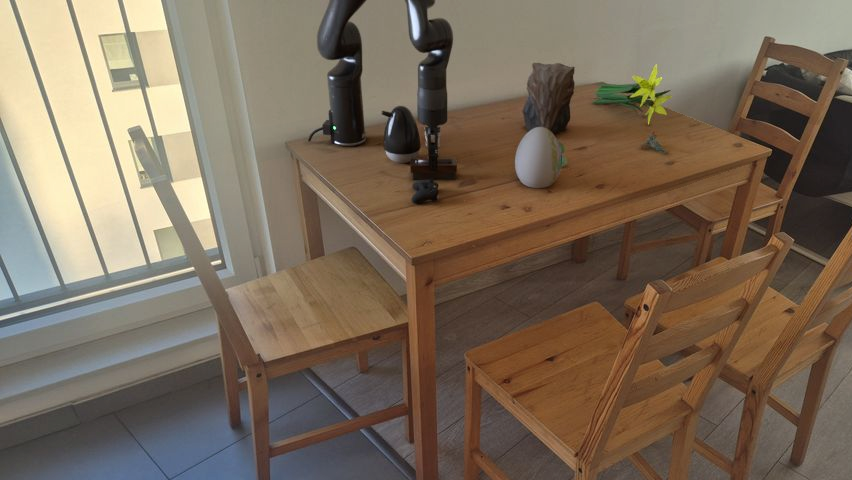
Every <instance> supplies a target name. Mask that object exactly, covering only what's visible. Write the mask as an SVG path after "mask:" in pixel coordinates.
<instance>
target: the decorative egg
mask: <svg viewBox="0 0 852 480" xmlns="http://www.w3.org/2000/svg"><path fill="white" fill-rule="evenodd" d="M558 142H559V140H558V139H557V137H556V135H555V136H554V134H553V133H552V132H551V131H550V130H548V129H547V128H544V127H536V128H534V129H532V130H528V132H527V133H526V134H525V135H524V136H523V137H522V139H521V140H520V142H519V144H518V145H517V149H516V152H515V156H514V157H515V158H514V168H515V172H516V176H517V177H518V179H519V181H520V182H521V183H522V184H523V185H524V186H526V187H529V188H531V189H545V188H548V187H551V186H552V185H553V184H554V183H555V182H556V181H557V180H558V178H559V177H560V173H561V171H562V168H563V166H562V155H563V154H562V153H561V148H560V145H559V143H558Z"/></svg>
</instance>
